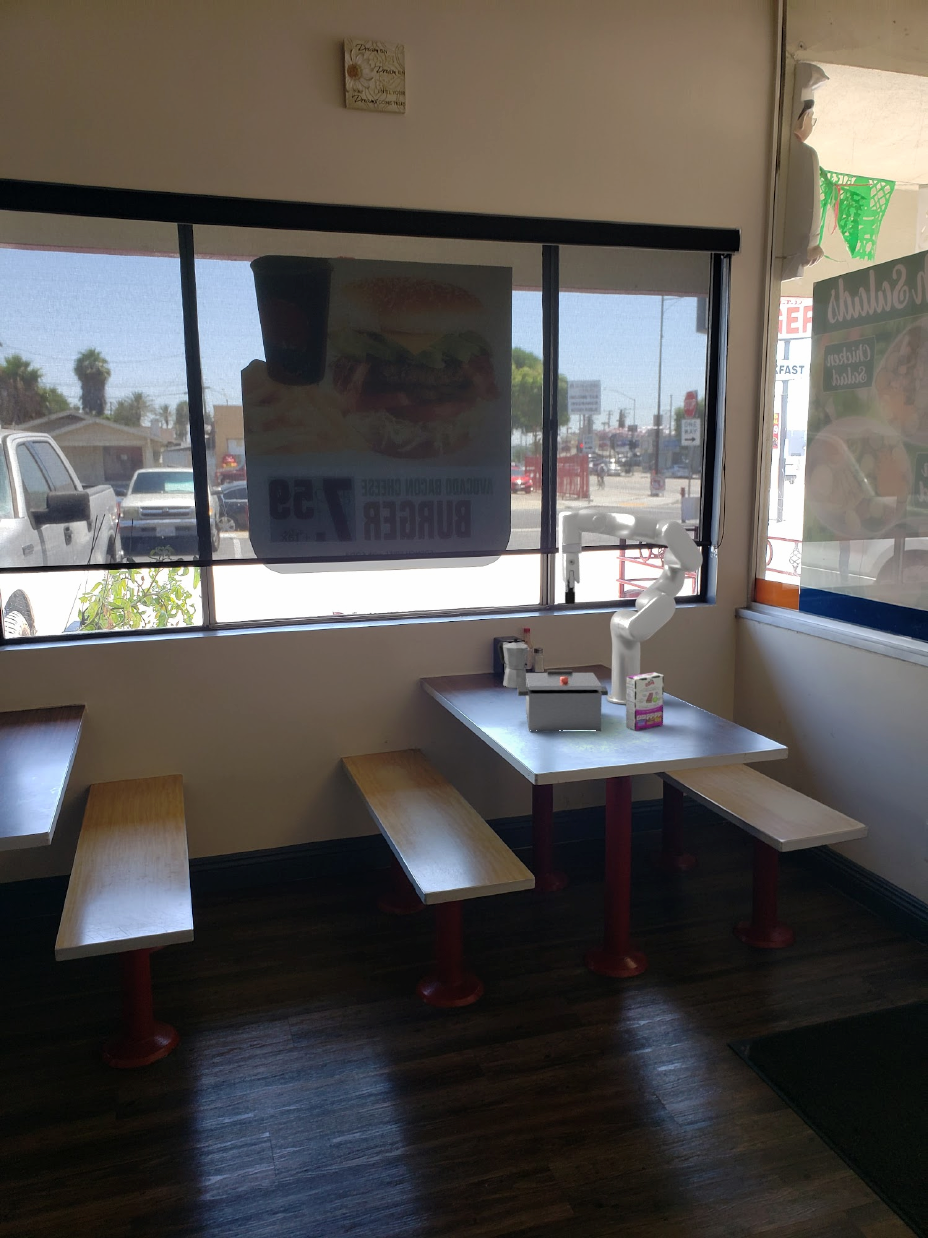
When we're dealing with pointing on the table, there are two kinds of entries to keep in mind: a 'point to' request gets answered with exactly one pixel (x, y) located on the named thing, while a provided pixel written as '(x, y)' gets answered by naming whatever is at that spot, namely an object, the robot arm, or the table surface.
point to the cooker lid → (562, 681)
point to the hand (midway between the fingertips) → (570, 603)
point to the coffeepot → (514, 663)
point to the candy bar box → (644, 701)
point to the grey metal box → (563, 709)
